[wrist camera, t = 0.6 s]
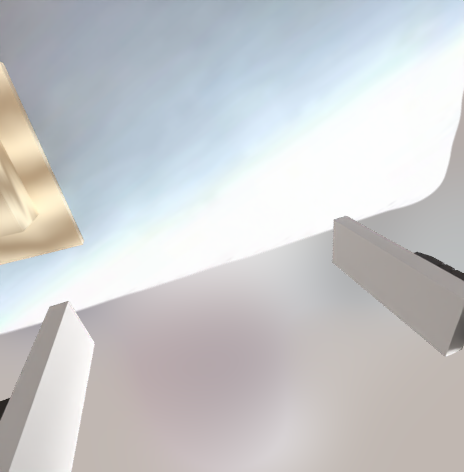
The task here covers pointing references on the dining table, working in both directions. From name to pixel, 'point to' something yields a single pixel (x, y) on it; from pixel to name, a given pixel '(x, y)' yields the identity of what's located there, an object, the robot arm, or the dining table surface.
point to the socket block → (28, 188)
